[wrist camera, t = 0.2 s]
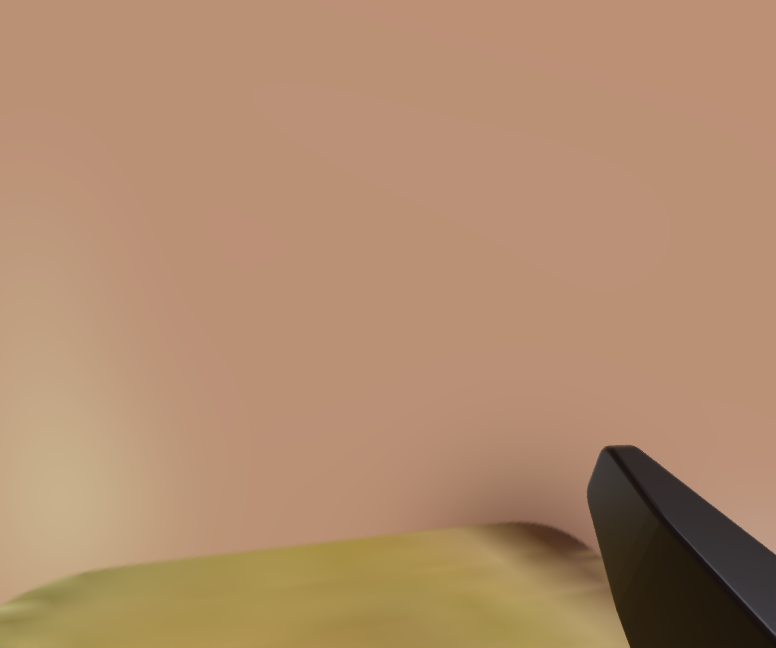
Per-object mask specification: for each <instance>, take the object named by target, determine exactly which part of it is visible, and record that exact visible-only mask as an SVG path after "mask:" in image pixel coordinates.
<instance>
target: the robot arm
mask: <svg viewBox="0 0 776 648" xmlns="http://www.w3.org/2000/svg"><path fill="white" fill-rule="evenodd" d="M587 499H588V505H589V509H590V513H591V517H592V520H593V524H594V528H595V532H596V536H597V540H598V543H599V547H600V551H601V555H602V559H603V563H604V566H605V570H606V574H607V578H608V582H609V585H610V589H611V593H612V596H613V600H614V603H615V607H616V610H617V613H618V616H619V618H620V621H621V624H622V627H623V630H624V632H625V635H626V638H627V640H628V643H629V646H630V648H776V555H775V554H774V553H773V552H772V551H770V550H769V549H768V548H766V547H765V546H764V545H763V544H761V543H760V542H759V541H757V540H756V539H755V538H754V537H752V536H751V535H750V534H748V533H747V532H746V531H744V530H743V529H742V528H741V527H739V526H738V525H737V524H735V523H734V522H733V521H732V520H730V519H729V518H728V517H727V516H725V515H724V514H723V513H721V512H720V511H719V510H718V509H716V508H715V507H714V506H712V505H711V504H710V503H709V502H707V501H706V500H705V499H703V498H702V497H701V496H699V495H698V494H697V493H696V492H694V491H693V490H692V489H691V488H689V487H688V486H687V485H685V484H684V483H683V482H681V481H680V480H679V479H678V478H676V477H675V476H673V475H672V474H671V473H670V472H669V471H667V470H666V469H665V468H663V467H662V466H661V465H660V464H658V463H657V462H656V461H654V460H653V459H652V458H650V457H649V456H648V455H647V454H645V453H644V452H643V451H642V450H640V449H639V448H637V447H635V446H631V445H615V446H606V447H605V448H603V449H602V450H601V452H600V454H599V457H598V460H597V462H596V465H595V468H594V470H593V473H592V476H591V478H590V481H589V484H588V488H587Z"/></svg>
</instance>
